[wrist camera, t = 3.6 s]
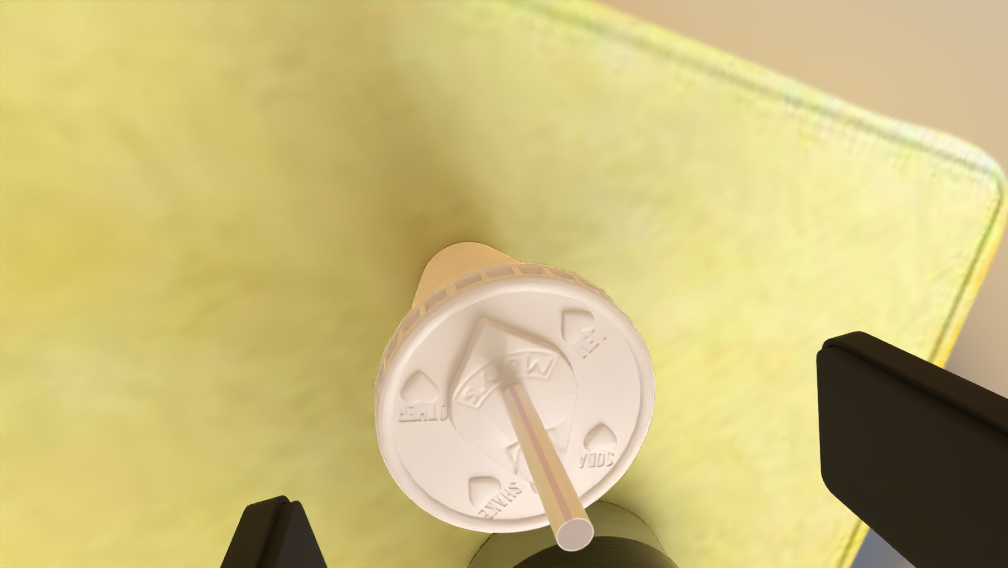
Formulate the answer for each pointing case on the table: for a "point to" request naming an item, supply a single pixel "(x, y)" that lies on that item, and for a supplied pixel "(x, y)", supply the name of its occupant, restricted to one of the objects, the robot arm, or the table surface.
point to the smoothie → (511, 395)
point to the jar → (601, 564)
